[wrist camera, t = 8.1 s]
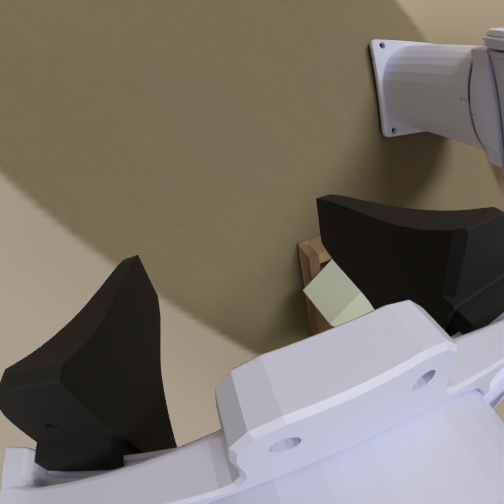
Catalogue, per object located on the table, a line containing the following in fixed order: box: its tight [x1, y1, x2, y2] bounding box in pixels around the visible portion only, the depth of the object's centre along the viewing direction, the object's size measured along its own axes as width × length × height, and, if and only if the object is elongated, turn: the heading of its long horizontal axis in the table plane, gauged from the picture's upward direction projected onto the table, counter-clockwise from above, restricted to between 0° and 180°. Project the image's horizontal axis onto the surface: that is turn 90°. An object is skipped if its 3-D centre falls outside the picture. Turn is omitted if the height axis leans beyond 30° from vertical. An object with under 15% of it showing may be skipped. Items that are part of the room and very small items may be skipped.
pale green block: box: [303, 259, 374, 327], centre depth 23 cm, size 4×8×4 cm, turn 47°
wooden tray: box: [297, 236, 334, 337], centre depth 27 cm, size 8×12×2 cm
